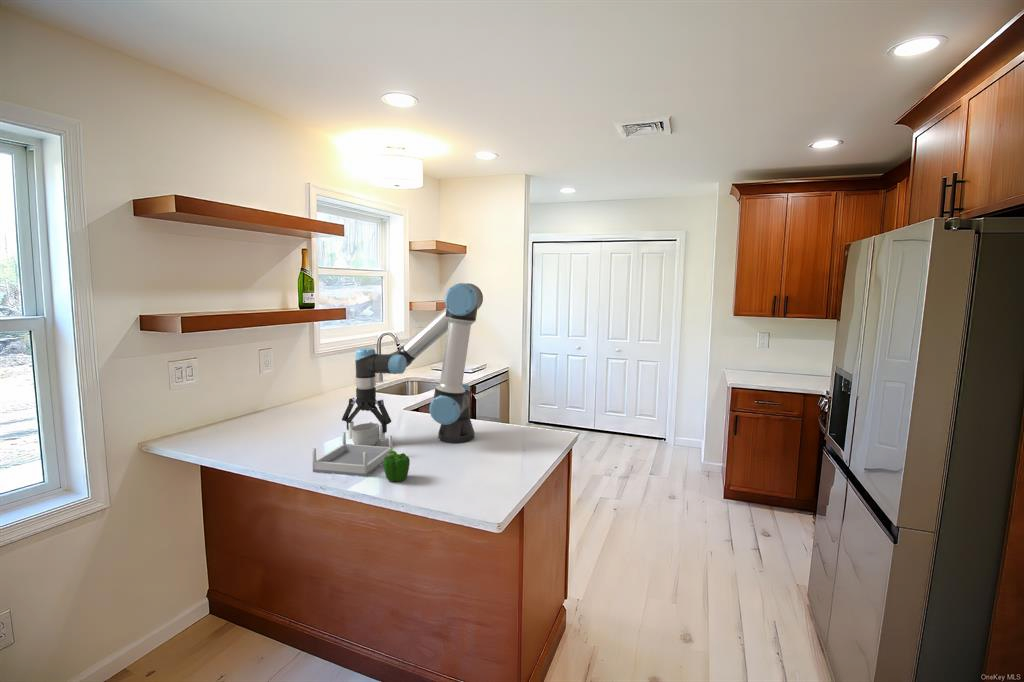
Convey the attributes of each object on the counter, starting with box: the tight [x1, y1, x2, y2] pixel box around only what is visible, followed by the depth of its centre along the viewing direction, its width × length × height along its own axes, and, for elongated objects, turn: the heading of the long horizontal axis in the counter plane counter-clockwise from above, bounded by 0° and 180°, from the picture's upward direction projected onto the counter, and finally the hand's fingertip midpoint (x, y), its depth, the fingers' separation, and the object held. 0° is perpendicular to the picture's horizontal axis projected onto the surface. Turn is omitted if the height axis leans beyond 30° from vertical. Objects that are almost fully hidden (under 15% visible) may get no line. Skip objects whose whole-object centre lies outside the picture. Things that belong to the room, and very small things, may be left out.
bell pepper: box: [383, 450, 411, 482], centre depth 163 cm, size 8×8×10 cm
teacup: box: [351, 421, 380, 446], centre depth 199 cm, size 14×11×8 cm
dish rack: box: [311, 431, 394, 477], centre depth 177 cm, size 20×20×8 cm
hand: (366, 439), depth 199 cm, fingers open, 13 cm apart
